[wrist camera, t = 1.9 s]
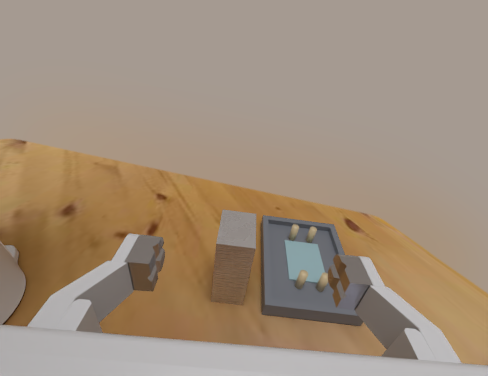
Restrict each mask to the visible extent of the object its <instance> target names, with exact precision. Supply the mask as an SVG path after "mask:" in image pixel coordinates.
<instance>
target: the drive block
mask: <svg viewBox="0 0 488 376" xmlns="http://www.w3.org/2000/svg"><path fill="white" fill-rule="evenodd" d="M255 249H256V214H252V213H244V212H237V211H229V210H223V211H222V216H221V222H220V227H219V232H218V238H217V243H216V253H215V264H214V275H213V285H212V296H211V302H219V303H227V304H236V305H243V301H244V297H245V292H246V288H247V284H248V279H249V275H250V271H251V266H252V262H253V258H254V254H255Z"/></svg>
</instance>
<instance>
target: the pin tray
mask: <svg viewBox="0 0 488 376" xmlns="http://www.w3.org/2000/svg"><path fill="white" fill-rule="evenodd" d="M337 254H338V255H345V254H344V251H343V248H342V246H341V243H340V240H339V237H338V235H337V232H336V229H335V226H334V225H333V224H325V223H317V222H310V221H302V220H295V219H287V218H279V217H272V216H264V215H263V218H262V222H261V285H262V314H263V315H271V316H280V317H288V318H297V319H305V320H314V321H322V322H331V323H339V324H348V325H356V326H361V324H362V323H363V321H362V319H361V318H360V317H359V316H358V315H357V314H356V312H355V310H348V309H340V308H336V305H335V302H334V299H333V295H332V294H333V292H334V290H333V289H332V288H331V287H330V286H329V282H328V270H329V268H330V266H331V265H333V264H334V262H333V258H334V256H335V255H337Z"/></svg>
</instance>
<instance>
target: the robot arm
mask: <svg viewBox="0 0 488 376" xmlns="http://www.w3.org/2000/svg"><path fill="white" fill-rule="evenodd" d="M163 244H164V241H163V238H162V237H155V236H147V235H138V234H128V235H127V236H126V238H125V239H124V241H123V243H122V244H121V246H120V247H119V249H118V251H117V252H116V254H115V255H114V257H113V259H112V260H111V261H106V262H105V263H103V264H101V265H100V266H98V267H97V268H95V269H93V270H92V271H90V272H88V273H87V274H85V275H83V276H82V277H80V278H79V279H77V280H75V281H74V282H72V283H70V284H69V285H67V286H65V287H64V288H62V289H61V290H59V291H57V292H56V293H54V294H52V295H51V296H50V297H49V299H48V300H47V301H46V302H45V304H44V305H43V306H42V308H41V309H40V310H39V312H38V313H37V314H36V315H35V317H34V318H33V319H32V321H31V322H30V323H29V325H28V326H27V327H25V326H13V325H2V324H3V323H4V322H5V321H6V320H7V319H8V318H9V317H10V315H11V314H12V313H13V311H14V310H15V309H16V307H17V306H18V304H19V302H20V301H21V299H22V296H23V294H24V291H25V286H26V279H25V275H24V273H23V271H22V270H21V269H20V267H19V266H18V257H19V252H18V250H17V249H16V248H15V247H14V246H11V245H3V244H2V243H1V241H0V376H488V365H476V364H464V363H461V361H460V360H459V358H458V356H457V355H456V353H455V352H454V350H453V348H452V347H451V345H450V344H449V342H448V341H447V339H446V337H445V336H444V334H443V333H442V331H441V330H440V329H439V328H437V327H436V326H435V325H434V324H433V323H431V322H430V321H429V320H428V319H426V318H425V317H424V316H423V315H422V314H420V313H419V312H418V311H417V310H416V309H414V308H413V307H412V306H411V305H409V304H408V303H407V302H406V301H405V300H403V299H402V298H401V297H400V296H398V295H397V294H396V293H395V292H394V291H392V290H391V289H390V288H389V287H385V285H384V283H383V282H382V280H381V278H380V276H379V274H378V272H377V270H376V268H375V267H374V265H373V263H372V261H371V259H370V258H369V257H360V256H349V255H338V254H337V255H335V256H334V258H333V262H334V264H333V265H331V266H330V268H329V270H328V282H329V286H330V287H331V288H332V289H333V290H334V292H333V294H332V295H333V299H334V302H335V305H336V308H340V309H348V310H355V312H356V314H357V315H358V316H359V317H360V318H361V319H362V321H363V322H364V323H365V324H366V325H367V327H368V328H369V329H370V330H371V331H372V333H373V334H374V335H375V336H376V337H377V339H378V340H379V341H380V342H381V343H382V345H383V346H384V347H385V348H386V349H387V350H386V351H385V352H384V354H383V355H382V356H369V355H357V354H345V353H333V352H321V351H309V350H297V349H286V348H274V347H262V346H250V345H238V344H226V343H214V342H202V341H190V340H178V339H166V338H154V337H142V336H131V335H119V334H107V333H103V332H102V330H101V327H100V324H99V322H100V321H101V320H103V319H104V318H105V317H106V316H107V315H108V314H109V313H110V312H111V311H112V310H114V309H115V308H116V307H117V306H118V305H119V304H120V303H121V302H122V301H123V300H125V299H126V298H127V297H128V296H129V295H130V294H131V293H132V292H133V290H138V291H153V290H154V288H155V285H156V282H157V280H158V274H157V273H158V272H160V271H161V269H162V267H163V263H164V258H165V251H164V249H163V248H162V246H163Z"/></svg>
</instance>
